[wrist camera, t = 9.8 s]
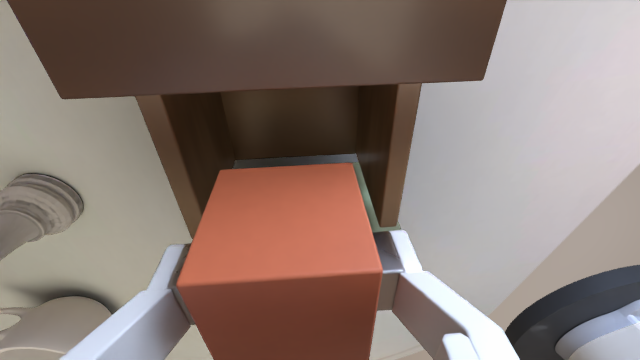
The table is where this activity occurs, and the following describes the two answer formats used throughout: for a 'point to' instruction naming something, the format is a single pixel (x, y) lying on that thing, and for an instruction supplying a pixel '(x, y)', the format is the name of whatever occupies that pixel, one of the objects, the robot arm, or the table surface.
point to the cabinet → (255, 43)
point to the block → (284, 266)
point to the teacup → (50, 328)
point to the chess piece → (35, 210)
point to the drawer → (286, 138)
